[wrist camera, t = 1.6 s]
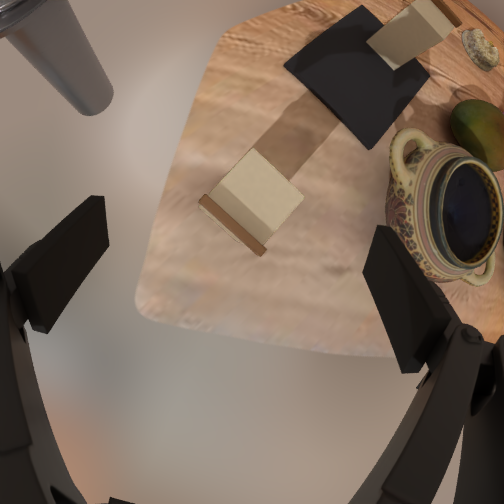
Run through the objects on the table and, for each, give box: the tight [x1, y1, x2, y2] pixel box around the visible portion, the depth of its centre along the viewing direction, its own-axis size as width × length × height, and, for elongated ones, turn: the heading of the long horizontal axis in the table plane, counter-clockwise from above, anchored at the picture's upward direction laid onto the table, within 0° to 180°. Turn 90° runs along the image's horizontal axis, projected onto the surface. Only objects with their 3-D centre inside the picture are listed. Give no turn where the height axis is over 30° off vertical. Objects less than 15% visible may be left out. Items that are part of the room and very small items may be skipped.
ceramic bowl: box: [385, 128, 504, 287], centre depth 36 cm, size 24×18×15 cm
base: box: [283, 0, 462, 150], centre depth 32 cm, size 16×20×14 cm
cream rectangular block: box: [199, 148, 305, 257], centre depth 31 cm, size 6×6×13 cm
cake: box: [462, 29, 499, 71], centre depth 41 cm, size 10×10×5 cm
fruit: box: [450, 99, 504, 172], centre depth 39 cm, size 12×12×10 cm
